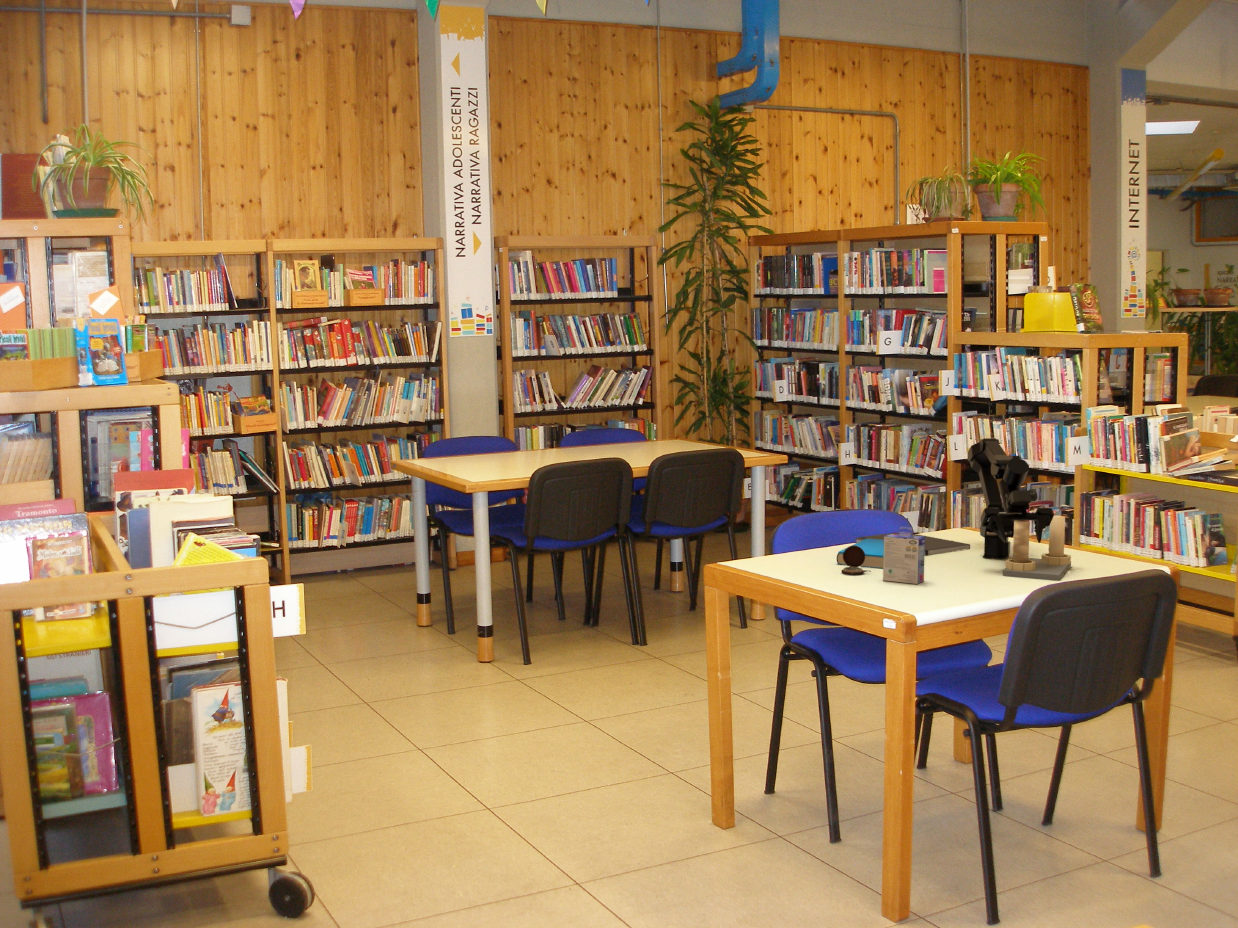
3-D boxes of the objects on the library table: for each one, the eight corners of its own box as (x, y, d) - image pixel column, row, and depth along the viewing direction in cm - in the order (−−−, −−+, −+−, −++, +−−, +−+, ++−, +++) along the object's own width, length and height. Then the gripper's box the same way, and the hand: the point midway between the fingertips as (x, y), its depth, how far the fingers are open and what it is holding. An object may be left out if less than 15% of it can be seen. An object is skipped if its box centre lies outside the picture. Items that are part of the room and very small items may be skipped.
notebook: (970, 551, 359) (902, 538, 383) (970, 543, 359) (902, 531, 383) (920, 558, 348) (853, 544, 372) (920, 550, 348) (853, 537, 371)
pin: (1011, 568, 321) (1012, 521, 320) (1014, 566, 324) (1015, 519, 323) (1026, 570, 319) (1028, 522, 318) (1029, 567, 323) (1030, 520, 321)
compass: (840, 575, 322) (840, 549, 322) (843, 569, 330) (843, 544, 329) (870, 576, 320) (870, 550, 319) (872, 571, 328) (872, 545, 327)
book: (919, 542, 350) (895, 555, 328) (919, 556, 350) (894, 570, 329) (864, 538, 358) (836, 550, 337) (863, 552, 359) (836, 565, 337)
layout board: (1002, 575, 320) (1004, 523, 318) (1017, 561, 338) (1019, 512, 337) (1059, 580, 312) (1061, 526, 311) (1071, 566, 331) (1073, 515, 330)
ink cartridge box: (925, 581, 314) (926, 527, 312) (918, 584, 309) (919, 530, 307) (889, 577, 319) (890, 524, 317) (882, 581, 314) (883, 527, 313)
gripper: (984, 478, 323) (994, 524, 314) (1053, 478, 323) (1065, 524, 313) (976, 502, 332) (985, 548, 322) (1043, 502, 331) (1054, 548, 322)
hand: (1022, 542), depth 320 cm, fingers open, 9 cm apart
